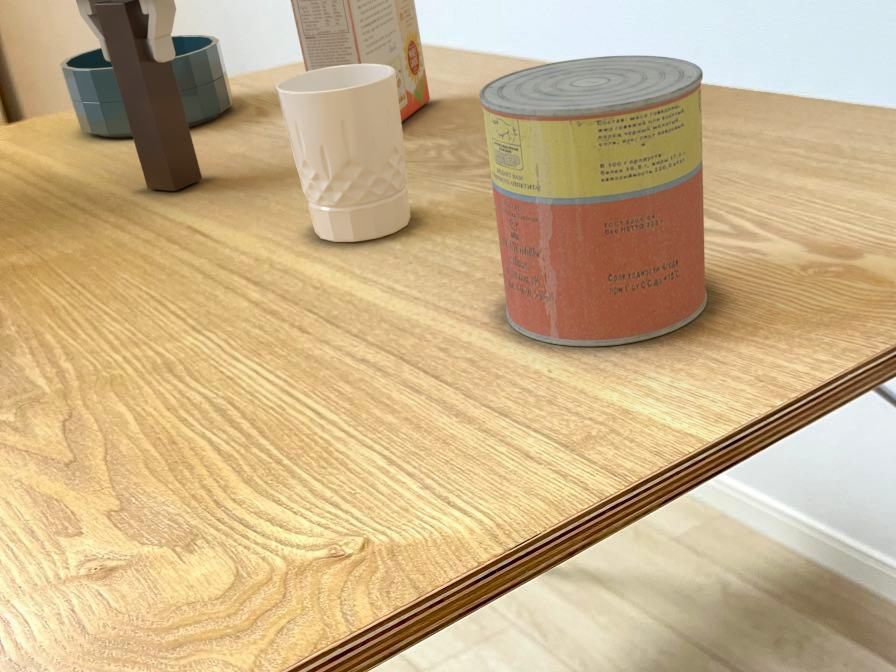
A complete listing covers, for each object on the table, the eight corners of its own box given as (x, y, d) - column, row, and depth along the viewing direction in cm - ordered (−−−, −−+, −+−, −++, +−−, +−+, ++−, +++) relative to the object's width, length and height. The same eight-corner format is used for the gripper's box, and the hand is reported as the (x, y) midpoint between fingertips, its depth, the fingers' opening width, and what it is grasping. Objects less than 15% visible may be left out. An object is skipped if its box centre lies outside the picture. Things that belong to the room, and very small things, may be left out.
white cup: (319, 213, 84) (289, 69, 78) (425, 204, 83) (402, 58, 78) (296, 250, 77) (262, 97, 72) (411, 241, 77) (385, 85, 71)
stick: (147, 189, 94) (93, 3, 86) (174, 177, 96) (124, -5, 88) (175, 191, 92) (123, 3, 85) (202, 179, 95) (154, -6, 87)
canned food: (694, 259, 69) (689, 46, 62) (719, 335, 59) (716, 95, 53) (508, 277, 69) (483, 68, 63) (504, 355, 60) (474, 120, 53)
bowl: (49, 137, 114) (26, 68, 110) (158, 98, 125) (141, 34, 121) (158, 143, 107) (138, 70, 104) (264, 102, 118) (249, 34, 114)
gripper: (-46, -132, 84) (19, 68, 91) (154, -152, 74) (208, 72, 82) (23, -141, 88) (80, 50, 96) (220, -161, 79) (266, 52, 87)
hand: (141, 60), depth 89 cm, fingers closed on stick, 3 cm apart
